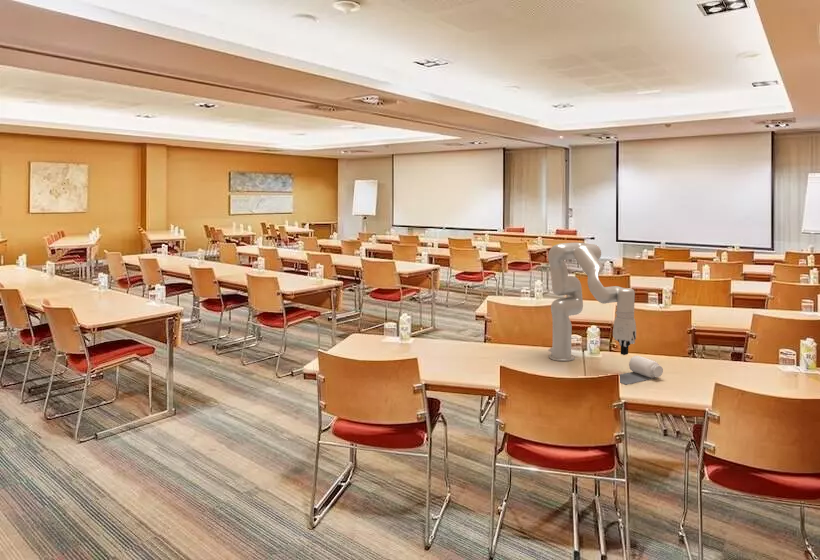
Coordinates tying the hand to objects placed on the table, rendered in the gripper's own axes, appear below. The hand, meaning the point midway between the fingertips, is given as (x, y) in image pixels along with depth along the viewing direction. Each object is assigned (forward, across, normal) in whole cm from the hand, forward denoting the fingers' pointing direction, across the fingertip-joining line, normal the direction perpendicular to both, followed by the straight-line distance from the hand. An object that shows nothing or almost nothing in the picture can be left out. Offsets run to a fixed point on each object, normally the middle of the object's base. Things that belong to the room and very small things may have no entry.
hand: (624, 354), depth 272 cm
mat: (+10, +4, 0) cm, 11 cm away
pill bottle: (+6, -2, +9) cm, 11 cm away
